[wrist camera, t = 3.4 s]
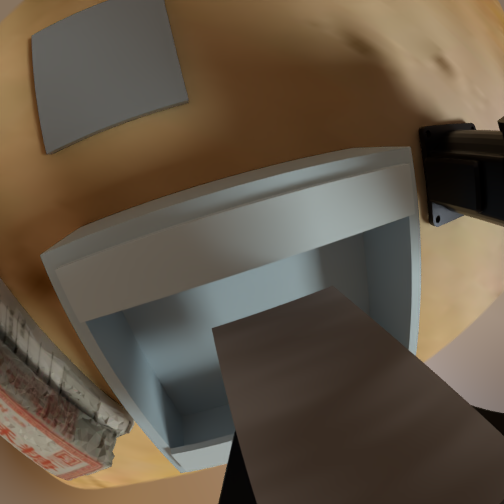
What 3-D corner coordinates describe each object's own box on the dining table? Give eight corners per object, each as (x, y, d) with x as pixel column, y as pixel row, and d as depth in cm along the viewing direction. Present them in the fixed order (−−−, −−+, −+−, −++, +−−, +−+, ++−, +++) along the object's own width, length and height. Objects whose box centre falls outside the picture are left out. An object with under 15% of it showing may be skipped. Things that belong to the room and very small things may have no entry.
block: (332, 285, 9) (534, 465, 2) (344, 402, 11) (442, 538, 4) (211, 328, 9) (299, 615, 1) (257, 436, 11) (323, 598, 3)
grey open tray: (352, 147, 14) (417, 146, 10) (373, 346, 19) (415, 387, 14) (80, 227, 12) (35, 258, 8) (176, 417, 17) (181, 478, 12)
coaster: (160, -10, 10) (160, -16, 9) (188, 102, 12) (188, 99, 11) (35, 39, 9) (31, 35, 8) (51, 154, 11) (46, 154, 10)
